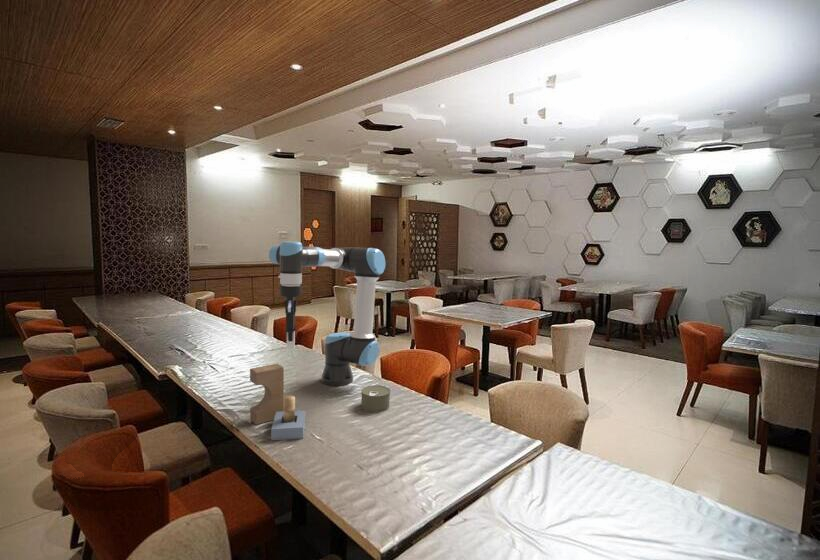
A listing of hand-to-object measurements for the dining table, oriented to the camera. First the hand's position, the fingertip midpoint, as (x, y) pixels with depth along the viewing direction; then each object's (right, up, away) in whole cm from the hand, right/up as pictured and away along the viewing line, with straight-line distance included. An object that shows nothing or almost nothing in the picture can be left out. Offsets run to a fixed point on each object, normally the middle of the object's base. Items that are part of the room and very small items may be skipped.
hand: (290, 349), depth 150 cm
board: (0, -29, -2) cm, 29 cm away
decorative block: (-11, -28, +6) cm, 30 cm away
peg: (0, -29, -2) cm, 29 cm away
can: (+29, -28, +21) cm, 45 cm away
